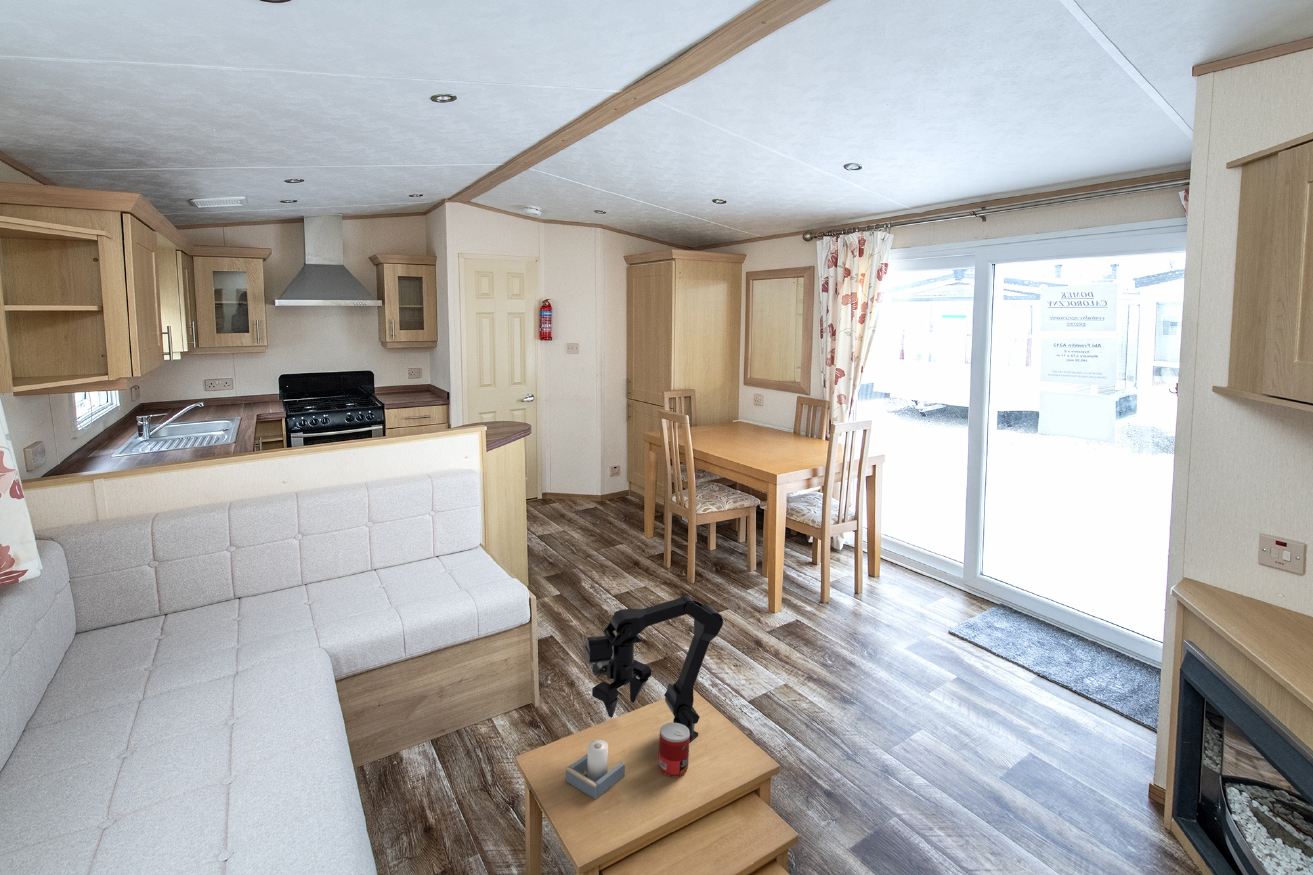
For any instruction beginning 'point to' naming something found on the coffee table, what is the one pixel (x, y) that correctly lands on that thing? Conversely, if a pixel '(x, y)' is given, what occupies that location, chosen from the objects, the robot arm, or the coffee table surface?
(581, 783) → the bracket
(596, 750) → the roll
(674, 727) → the canned food
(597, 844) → the coffee table surface
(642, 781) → the coffee table surface
